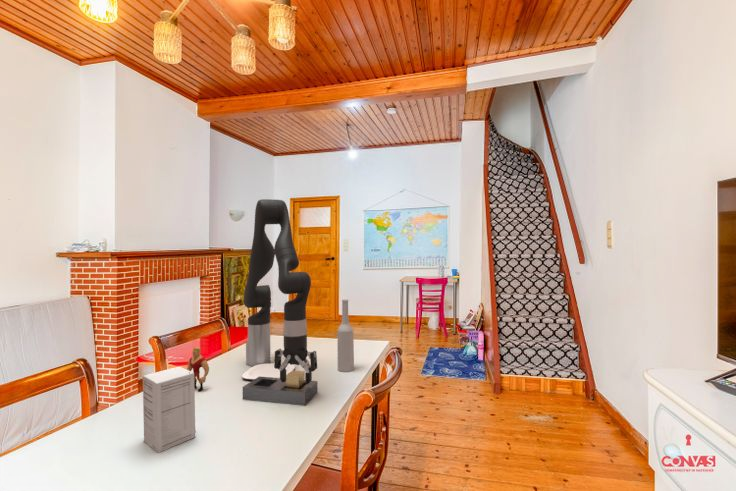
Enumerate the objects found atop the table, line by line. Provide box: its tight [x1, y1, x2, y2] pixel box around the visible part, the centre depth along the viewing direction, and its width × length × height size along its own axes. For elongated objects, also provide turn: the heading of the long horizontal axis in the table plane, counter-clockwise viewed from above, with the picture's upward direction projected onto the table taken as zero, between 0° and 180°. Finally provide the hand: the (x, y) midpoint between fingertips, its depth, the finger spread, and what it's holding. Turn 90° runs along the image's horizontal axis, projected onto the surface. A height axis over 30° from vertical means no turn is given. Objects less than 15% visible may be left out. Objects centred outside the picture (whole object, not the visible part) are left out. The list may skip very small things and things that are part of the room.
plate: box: [241, 363, 296, 381], centre depth 140 cm, size 18×18×2 cm
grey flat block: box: [241, 376, 319, 407], centre depth 118 cm, size 22×10×4 cm, turn 76°
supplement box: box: [142, 366, 196, 453], centre depth 92 cm, size 10×9×17 cm
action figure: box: [186, 346, 210, 392], centre depth 125 cm, size 10×4×15 cm, turn 70°
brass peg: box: [286, 370, 306, 389], centre depth 117 cm, size 4×4×8 cm
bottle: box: [337, 299, 355, 373], centre depth 144 cm, size 7×7×28 cm
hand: (295, 382), depth 117 cm, fingers open, 8 cm apart
